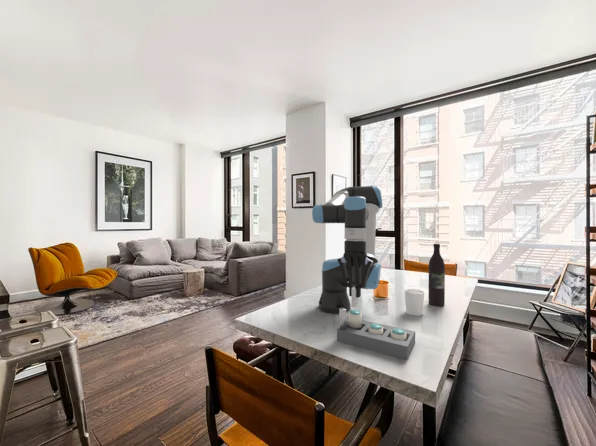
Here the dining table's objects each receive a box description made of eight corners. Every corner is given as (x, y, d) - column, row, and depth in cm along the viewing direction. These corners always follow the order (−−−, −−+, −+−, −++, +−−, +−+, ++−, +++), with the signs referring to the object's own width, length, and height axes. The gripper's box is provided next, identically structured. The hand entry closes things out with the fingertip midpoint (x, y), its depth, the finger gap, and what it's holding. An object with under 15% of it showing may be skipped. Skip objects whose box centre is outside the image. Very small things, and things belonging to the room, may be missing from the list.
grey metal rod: (338, 329, 92) (338, 309, 92) (341, 326, 94) (341, 307, 94) (344, 330, 91) (344, 310, 91) (347, 328, 93) (347, 308, 93)
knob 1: (346, 326, 95) (346, 312, 95) (351, 321, 99) (351, 308, 99) (359, 329, 92) (359, 315, 92) (363, 324, 96) (363, 311, 96)
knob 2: (389, 347, 86) (389, 331, 86) (392, 341, 90) (392, 326, 90) (404, 351, 84) (404, 335, 84) (407, 345, 88) (407, 330, 88)
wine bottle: (429, 305, 129) (429, 244, 128) (427, 301, 135) (428, 243, 135) (445, 307, 126) (446, 244, 126) (443, 303, 133) (443, 243, 133)
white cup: (426, 317, 114) (426, 294, 114) (406, 315, 116) (406, 293, 116) (421, 310, 122) (421, 289, 122) (403, 309, 124) (403, 288, 123)
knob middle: (366, 341, 91) (366, 326, 90) (371, 336, 95) (371, 322, 94) (380, 345, 88) (380, 330, 88) (384, 339, 92) (384, 325, 92)
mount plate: (337, 340, 92) (337, 329, 92) (351, 327, 103) (351, 317, 103) (407, 359, 79) (407, 346, 79) (415, 343, 90) (415, 331, 90)
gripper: (333, 239, 95) (333, 305, 95) (369, 241, 88) (369, 312, 88) (342, 238, 102) (342, 300, 102) (376, 240, 94) (376, 306, 94)
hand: (354, 305), depth 95 cm, fingers closed
